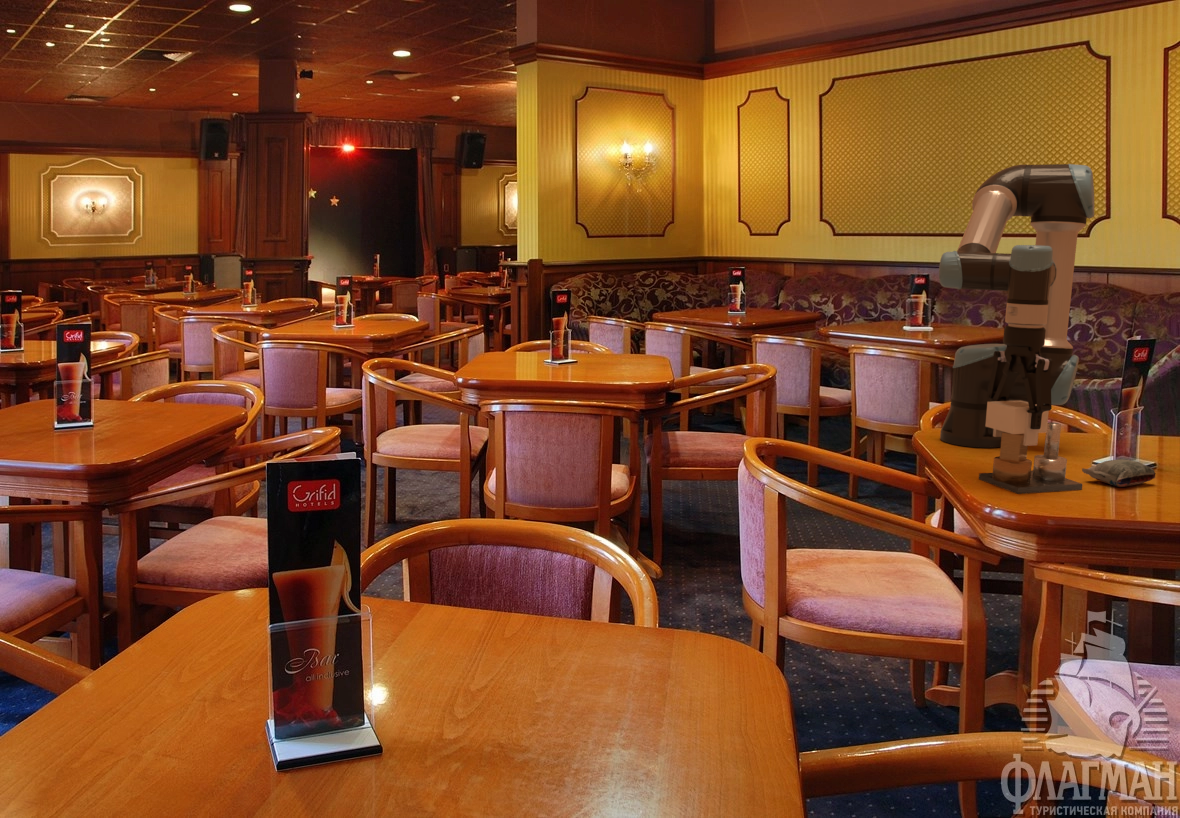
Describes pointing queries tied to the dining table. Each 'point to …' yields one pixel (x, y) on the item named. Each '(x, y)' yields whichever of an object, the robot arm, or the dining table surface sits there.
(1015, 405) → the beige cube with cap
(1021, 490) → the jig plate
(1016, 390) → the robot arm
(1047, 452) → the stand
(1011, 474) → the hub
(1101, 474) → the packaged food
